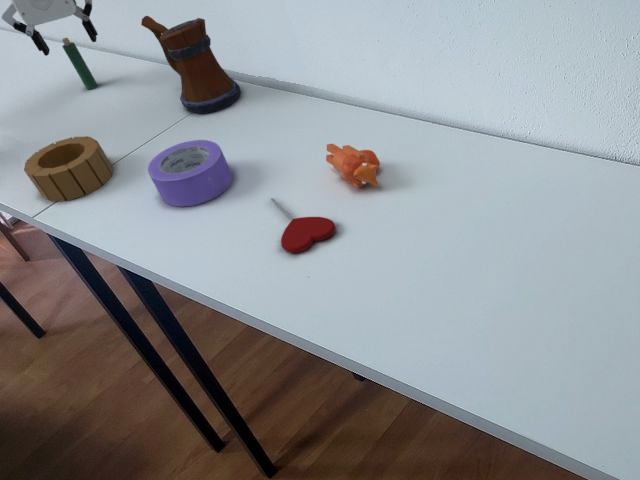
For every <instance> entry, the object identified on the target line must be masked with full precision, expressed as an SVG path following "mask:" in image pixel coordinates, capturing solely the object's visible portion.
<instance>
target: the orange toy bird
mask: <svg viewBox="0 0 640 480" xmlns="http://www.w3.org/2000/svg"><path fill="white" fill-rule="evenodd" d="M326 151H327V152H329V153H330V154H326V156H325V161H326V162H327V163H328V164H330V165H332V166H333V169H334V170H336V171H337V172H339V173H340V174H341V179H343V180H345V181H346V182H347V183H349V184H351V185H353V186H354V187H356V188H361V187H364V185H366V184H367V183H370V184H371V185H372V186H373V187H376V186H378V185H379V182H378V179H377V175H376V174H377V170H378V169H379V168H380V165H381V162H380V160H379V158H378V156H377V155H376V153H375V152H374V151H373V150H371V149H361V150H359V149H356V148H354V147H353V146H351V145H350V144H347V145H346V144H345V145H342V148H341V147H339V146H338V145H336V144H334V143H327V144H326Z"/></svg>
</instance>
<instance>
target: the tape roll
mask: <svg viewBox="0 0 640 480" xmlns="http://www.w3.org/2000/svg"><path fill="white" fill-rule="evenodd" d="M147 174H148V175H149V178H150V179H151V181H152V183H153V184H154V186H155V188H156V191H157V192H158V193H159V195H160V197H161V199H162V200H163V201H164V203H165V204H167V205H170V206H173V207H178V208H179V207H181V208H182V207H183V208H184V207H193V206H198V205H201V204H205V203H207V202H209V201H211V200H214V199H215V198H217V197H219V196H220V195H221V194H224V192H225V191H226V190H227V189H228V188H229V187H230V185H231V184H232V182H233V172H232V170H231V168H230V166H229V164H228V161H227V159H226V157H225V154H224V153H223V151H222V148H221V146H220V145H219V144H218V143H217V142H215V141H212V140H208V139H194V140H186V141H184V142H179V143H176V144H174V145H172V146H170V147H168V148H165V149H164V150H162V151H160V152H159V153H158V154H157V155H155V156H154V157H153V158H152V159H151V160H150V162H149V163H148V166H147Z"/></svg>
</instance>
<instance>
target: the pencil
mask: <svg viewBox="0 0 640 480" xmlns="http://www.w3.org/2000/svg"><path fill="white" fill-rule="evenodd" d="M61 41H62V43H63V45H62V49H63V50H64V52H65V54H66V56H67V57H68V59H69V61H70V63H71V65H72V66H73V68H74V69H75V71H76V73H77V75H78V77H79V78H80V80H81V81H82V83H83V85H84V87H85V88H86V90H94V89H96V88H97V87H98V86H99V84H98V82H97V81H96V79H95V77H94V76H93V74H92V72H91V70H90V68H89V66H88V65H87V63H86V62H85V59H84V58H83V56H82V54H81V52H80V51H79V49H78V47H77V46H76V43H75V42H71V41H70V39H69V38H68V37H63V38H62V39H61Z"/></svg>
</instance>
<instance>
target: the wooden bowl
mask: <svg viewBox="0 0 640 480" xmlns="http://www.w3.org/2000/svg"><path fill="white" fill-rule="evenodd" d="M23 171H24V173H25V174H26V176H27V177H28V178H29V180H30V181H31V183H32V184H33V185H34V186H35V188H36V189H37V190H38V192H39V193H40V195H41V196H42V197H43V198H45V199H46V200H47V201H51V202H67V201H72V200H75V199H77V198H78V199H79V198H81V197H84V196H85V195H89V194H91V193H93V192H94V191H96V190H98V189H100V188H102V186H104V185H105V184H106V183H107V182H108V181H109V180H110V178H111V177H112V176H113V175H114V166H113V165H112V162H111V161H110V159H109V157H108V156H107V154H106V152H105V151H104V149H103V148H102V146H101V144H100V143H99V142H98V140H97V139H95V138H93V137H91V136H73V137H71V136H70V137H68V138H65V139H60V140H58V141H57V140H56V141H55V143H54V142H52V143H49V144H48V145H46V146H43V147H42V148H40V149H38V151H36V152H34V153H33V154H32V155H31V156H30V157H28V159H27V160H26V161H25V163H24V168H23Z"/></svg>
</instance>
